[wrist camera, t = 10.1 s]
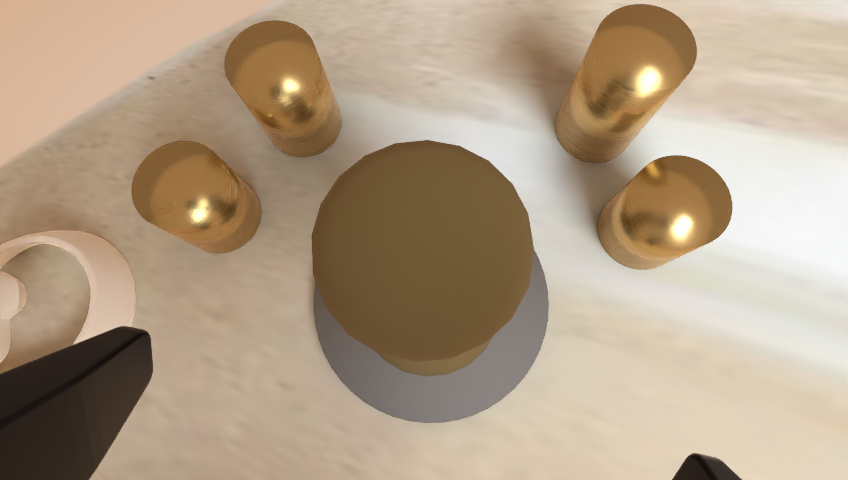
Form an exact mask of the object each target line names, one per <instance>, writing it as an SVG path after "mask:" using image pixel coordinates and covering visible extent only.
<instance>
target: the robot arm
mask: <svg viewBox="0 0 848 480" xmlns="http://www.w3.org/2000/svg"><path fill="white" fill-rule="evenodd" d="M152 373H153V360H152V348H151V338H150V335H149V333H148V332H147V331H145V330H142V329H137V328H133V327H128V326H120V327H117V328H114V329H112V330H109V331H106V332H104V333H101V334H99V335H96V336H94V337H91V338H89V339H86V340H84V341H81V342H79V343H76V344H74V345H71V346H69V347H66V348H64V349H61V350H59V351H56V352H54V353H51V354H49V355H46V356H44V357H41V358H39V359H36V360H34V361H31V362H29V363H26V364H24V365H21V366H19V367H16V368H14V369H11V370H9V371H6V372H4V373H1V374H0V480H89V479H90V477H91V476H92V474H93V473H94V472H95V470H96V469H97V467H98V466H99V464H100V462H101V461H102V459H103V458H104V456H105V455H106V453H107V451H108V450H109V448H110V446H111V445H112V443H113V441H114V440H115V438H116V437H117V435H118V433H119V432H120V430H121V428H122V427H123V425H124V423H125V422H126V420H127V418H128V417H129V415H130V413H131V412H132V410H133V408H134V407H135V405H136V404H137V402H138V400H139V399H140V397H141V395H142V394H143V392H144V390H145V389H146V387H147V385H148V384H149V382H150V379H151V377H152ZM672 480H742V479H741V478H740V477H738V476H737V475H736V474H735V473H734V472H733V471H732V470H731V469H730V468H729V467H728V466H727V465H726V464H725V463H724V462H722V461H721V460H720V459H718V458H715V457H711V456H706V455H702V454H697V453H693V454H691V455H689V456H688V457H687V458H686V459H685V461H684V462H683V464H682V465H681V467H680V468H679V470H678V472H677V473H676V475H675V476H674V478H673V479H672Z"/></svg>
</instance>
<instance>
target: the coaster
mask: <svg viewBox="0 0 848 480" xmlns="http://www.w3.org/2000/svg"><path fill="white" fill-rule="evenodd" d="M548 305H549V303H548V291H547V285H546V280H545V276H544V272H543V269H542V266H541V264H540V261H539V258H538V256H537V254H536V253H535V251H534V259H533V265H532V271H531V277H530V283H529V288H528V290H527V291H526V293H525V295H524V297H523V299H522V301H521V303H520V305H519V306H518V308H517V310H516V312H515V314H514V316H513V318H512V319H511V320H510V321H509V322H508V323H506V324H505V325H504V326H503V327H502V328H501V329H500V330H499V331H498V332H497V333H496V334H495V335H494V336H493V337H492V339H491V341H490V343H489V345H488V346H487V348H486V350H485V351H483V352H482V353H481V354H480V355H479V356H478V357H477V358H476V359H475V360H474V361H473V362H472V363H471V364H470V365H468V366H465V367H463V368H461V369H459V370H457V371H455V372H452V373H450V374H447V375H437V376H427V377H425V376H420V375H416V374H412V373H407V372H403V371H401V370H400V369H398V368H396V367H395V366H393V365H391V364H390V363H388V362H387V361H385V360H383V358H382V357H381V356H380V355H379V354H378V353H377V352H375V351H374V350H372V349H370V348H369V347H367V346H366V345H364V344H362V343H361V342H359V341H357V340H356V339H354V338H352V337H351V336H349V335H348V334H347V333H346V332H345V330H344V329H343V328H342V327H341V326H340V324H339V323H338V322H337V321H336V320H335V318H334V317H333V316H332V315H331V314H330V312H329V311H328V310H327V309H326V307H325V305H324V302H323V299H322V297H321V294H320V291H319V289H318V286H317V284H316V289H315V299H314V313H315V324H316V328H317V333H318V337H319V341H320V343H321V346H322V349H323V352H324V354H325V356H326V358H327V360H328V362H329V363H330V365H331V367H332V369H333V370H334V371H335V373H336V374H337V376H338V377H339V378H340V380H341V381H342V382H343V383H344V384H345V385H346V386H347V387H348V388H349V389H350V390H351V392H353V393H354V394H355V395H356V396H358V397H359V398H360V399H361V400H363V401H364V402H365V403H367V404H369V405H370V406H372V407H374V408H375V409H377V410H379V411H381V412H384V413H386V414H388V415H391V416H393V417H397V418H401V419H404V420H408V421H415V422H423V423H441V422H448V421H454V420H459V419H462V418H466V417H469V416H472V415H475V414H477V413H479V412H481V411H483V410H485V409H488V408H489V407H491V406H492V405H494V404H495V403H497V402H499V401H500V400H502V399H503V398H504V397H505V396H506V395H507V394H509V393H510V392H511V391H512V390H513V389H514V388H515V387H516V386H517V385H518V384H519V383H520V381H521V380H522V379H523V378H524V377H525V375H526V374H527V372H528V371H529V369H530V368H531V366H532V365H533V363H534V361H535V359H536V357H537V355H538V353H539V351H540V348H541V345H542V342H543V339H544V336H545V332H546V326H547V321H548Z"/></svg>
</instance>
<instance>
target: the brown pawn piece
mask: <svg viewBox="0 0 848 480" xmlns="http://www.w3.org/2000/svg"><path fill="white" fill-rule="evenodd" d="M312 255H313V276H314V278H315V281H316V284H317V286H318V289H319V291H320V294H321V297H322V299H323V302H324V305H325V307H326V309H327V310H328V311H329V312H330V314H331V315H332V316H333V317H334V318H335V320H336V321H337V322H338V323H339V324H340V326H341V327H342V328H343V329H344V330H345V332H346V333H347V334H348V335H349V336H351V337H352V338H354V339H356V340H357V341H359V342H361V343H362V344H364V345H366V346H367V347H369V348H370V349H372V350H374V351H375V352H377V353H378V354H379V355H380V356H381V357H382V358H383V360H385V361H387V362H388V363H390V364H391V365H393V366H395V367H396V368H398V369H400V370H401V371H403V372H407V373H412V374H416V375H420V376H425V377H427V376H437V375H447V374H450V373H452V372H455V371H457V370H459V369H461V368H463V367H465V366H468V365H470V364H471V363H472V362H473V361H474V360H475V359H476V358H477V357H478V356H479V355H480V354H481V353H482V352H483V351H485V350H486V348H487V346H488V345H489V343H490V341H491V339H492V337H493V336H494V335H495V334H496V333H497V332H498V331H499V330H500V329H501V328H502V327H503V326H504V325H505V324H506V323H508V322H509V321H510V320H511V319H512V318H513V316H514V314H515V312H516V310H517V308H518V306H519V305H520V303H521V301H522V299H523V297H524V295H525V293H526V291H527V290H528V288H529V283H530V277H531V271H532V265H533V259H534V247H533V241H532V235H531V228H530V222H529V217H528V213H527V211H526V209H525V207H524V205H523V203H522V201H521V199H520V198H519V196H518V194H517V192H516V190H515V188H514V186H513V184H512V183H511V182H510V181H509V180H508V179H507V178H506V177H505V176H504V175H503V174H502V173H501V172H500V171H499V170H497V169H496V168H495V167H494V166H493V165H492V164H491V163H490V162H489V161H488V160H486V159H484V158H482V157H480V156H478V155H476V154H474V153H472V152H470V151H468V150H466V149H464V148H462V147H460V146H456V145H451V144H445V143H440V142H435V141H429V140H425V141H415V142H406V143H396V144H393V145H390V146H388V147H386V148H383V149H381V150H378V151H376V152H373V153H371V154H369V155H366V156H364V157H363V158H362V159H361V160H359V161H358V162H357V163H356V164H354V165H353V166H352V167H351V168H349V169H348V170H347V171H346V172H344V173H343V174H342V175H341V176H339V178H338V179H337V181H336V182H335V184H334V185H333V187H332V188H331V190H330V191H329V193H328V194H327V196H326V197H325V199H324V200H323V202H322V203H321V206H320V209H319V212H318V216H317V219H316V223H315V226H314V230H313V233H312Z"/></svg>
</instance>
